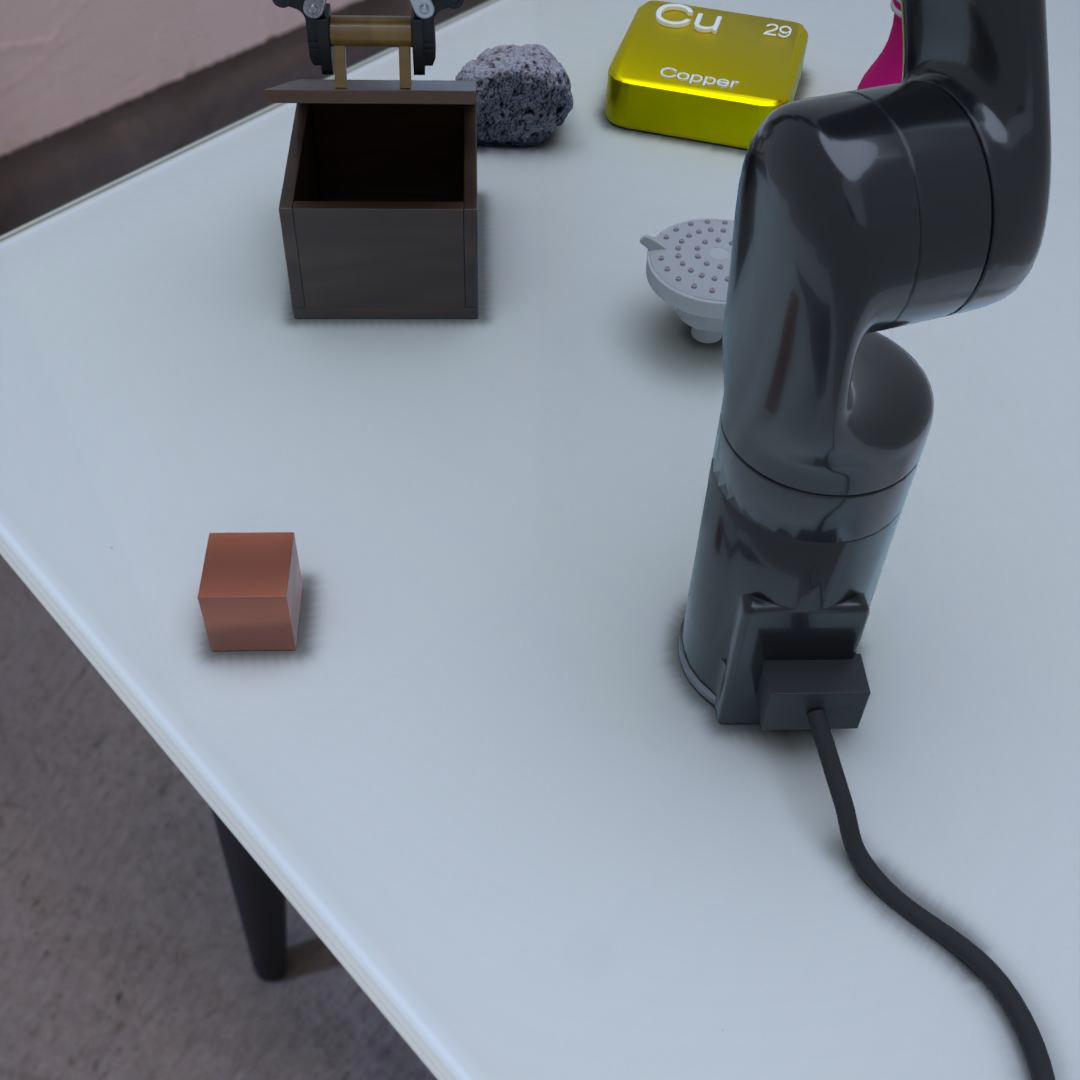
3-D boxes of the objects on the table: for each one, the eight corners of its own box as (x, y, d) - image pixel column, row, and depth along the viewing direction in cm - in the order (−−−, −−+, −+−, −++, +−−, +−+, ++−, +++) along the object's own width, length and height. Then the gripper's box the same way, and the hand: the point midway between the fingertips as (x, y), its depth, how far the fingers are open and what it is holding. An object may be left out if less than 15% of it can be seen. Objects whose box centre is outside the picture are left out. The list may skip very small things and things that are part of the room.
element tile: (599, 125, 109) (603, 71, 106) (638, 42, 119) (643, -10, 115) (778, 156, 107) (787, 102, 103) (803, 68, 116) (813, 16, 113)
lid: (476, 104, 80) (475, 16, 78) (265, 102, 80) (259, 14, 78) (476, 92, 95) (475, 17, 93) (298, 90, 94) (294, 16, 92)
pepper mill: (944, 148, 108) (1016, -102, 93) (912, 188, 104) (982, -67, 89) (863, 121, 111) (921, -126, 96) (828, 160, 107) (883, -93, 92)
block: (295, 650, 72) (286, 596, 68) (211, 651, 72) (197, 597, 68) (303, 586, 75) (294, 531, 71) (221, 586, 75) (208, 532, 71)
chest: (478, 318, 92) (477, 209, 85) (293, 318, 91) (278, 208, 84) (477, 198, 101) (476, 92, 95) (311, 197, 101) (298, 90, 94)
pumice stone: (481, 117, 114) (433, 142, 106) (489, 24, 110) (439, 42, 102) (593, 140, 111) (552, 168, 103) (605, 46, 107) (563, 67, 99)
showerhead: (650, 195, 90) (797, 216, 88) (641, 282, 95) (779, 302, 94) (629, 277, 83) (786, 300, 82) (620, 365, 89) (768, 387, 88)
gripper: (207, -211, 67) (253, 98, 80) (487, -208, 68) (489, 98, 80) (226, -255, 72) (266, 41, 85) (486, -253, 73) (488, 42, 85)
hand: (374, 68), depth 82 cm, fingers closed on lid, 5 cm apart
